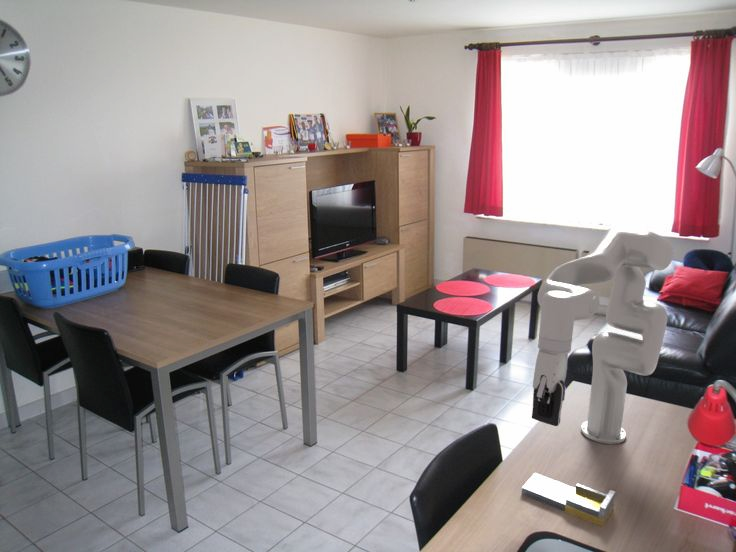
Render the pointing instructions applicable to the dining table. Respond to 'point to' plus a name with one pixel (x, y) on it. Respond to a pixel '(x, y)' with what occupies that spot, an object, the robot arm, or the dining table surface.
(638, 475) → the dining table surface
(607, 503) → the grey and yellow block
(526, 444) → the dining table surface
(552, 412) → the battery charger
